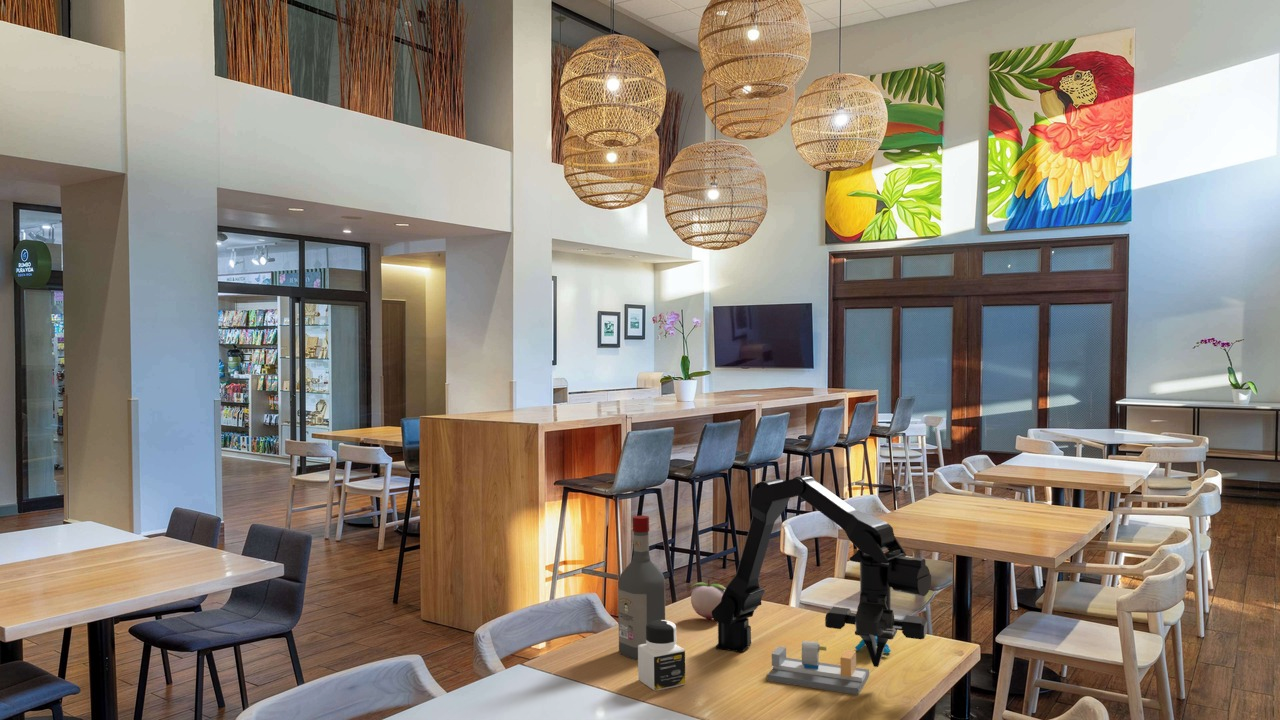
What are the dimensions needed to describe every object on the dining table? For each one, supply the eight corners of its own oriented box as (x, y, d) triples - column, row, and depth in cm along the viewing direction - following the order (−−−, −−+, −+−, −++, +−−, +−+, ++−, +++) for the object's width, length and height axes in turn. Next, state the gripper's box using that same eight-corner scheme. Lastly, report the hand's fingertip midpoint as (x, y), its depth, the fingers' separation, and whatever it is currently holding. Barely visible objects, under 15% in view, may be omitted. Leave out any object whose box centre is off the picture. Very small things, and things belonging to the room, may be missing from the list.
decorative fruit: (688, 624, 205) (688, 583, 205) (692, 614, 213) (691, 575, 213) (727, 626, 204) (726, 584, 204) (729, 616, 212) (728, 576, 212)
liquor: (640, 663, 179) (638, 522, 179) (613, 652, 186) (611, 517, 186) (671, 653, 185) (670, 517, 185) (644, 643, 192) (642, 511, 192)
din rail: (767, 680, 168) (767, 658, 168) (782, 662, 178) (782, 642, 178) (858, 694, 160) (858, 671, 160) (869, 675, 170) (868, 653, 170)
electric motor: (826, 674, 166) (825, 648, 166) (801, 672, 167) (801, 646, 167) (827, 661, 173) (826, 637, 173) (803, 660, 174) (803, 635, 174)
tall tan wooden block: (840, 675, 165) (840, 657, 165) (846, 667, 169) (845, 649, 169) (850, 677, 164) (850, 658, 164) (856, 668, 168) (855, 650, 169)
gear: (892, 653, 178) (857, 616, 181) (871, 672, 179) (837, 634, 182) (893, 644, 189) (861, 609, 192) (874, 661, 189) (842, 626, 193)
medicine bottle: (654, 692, 163) (653, 630, 163) (637, 679, 169) (636, 620, 170) (686, 685, 166) (685, 624, 167) (668, 673, 173) (667, 615, 173)
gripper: (818, 591, 161) (819, 673, 161) (919, 602, 153) (920, 688, 153) (831, 578, 171) (832, 654, 171) (927, 587, 163) (928, 668, 163)
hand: (876, 666), depth 164 cm, fingers closed
